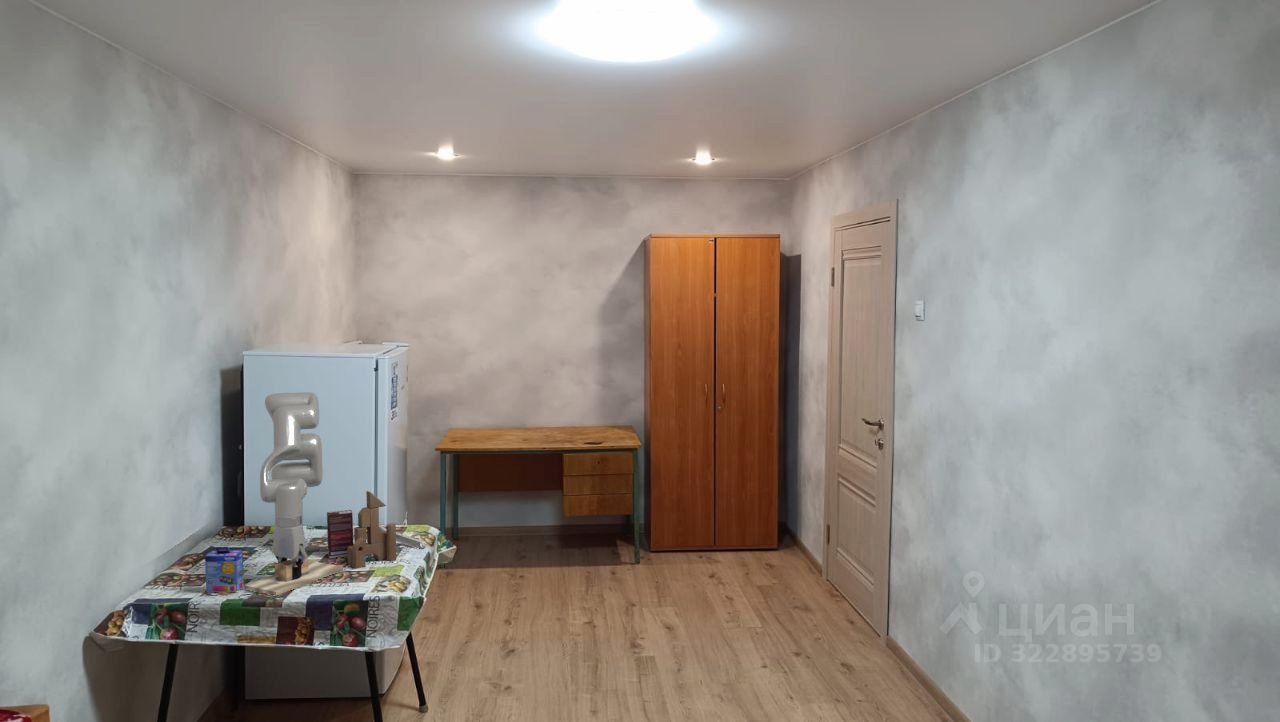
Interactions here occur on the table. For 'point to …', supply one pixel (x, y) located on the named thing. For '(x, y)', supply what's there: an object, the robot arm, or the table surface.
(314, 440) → the robot arm
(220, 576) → the ink cartridge box
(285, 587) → the board
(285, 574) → the block
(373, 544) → the wooden toy
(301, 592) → the table surface
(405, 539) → the wrench
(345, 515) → the supplement box
